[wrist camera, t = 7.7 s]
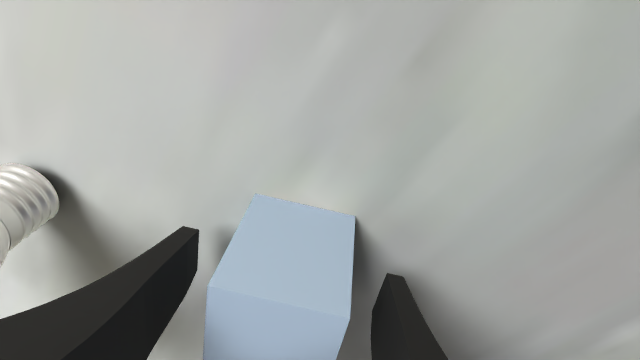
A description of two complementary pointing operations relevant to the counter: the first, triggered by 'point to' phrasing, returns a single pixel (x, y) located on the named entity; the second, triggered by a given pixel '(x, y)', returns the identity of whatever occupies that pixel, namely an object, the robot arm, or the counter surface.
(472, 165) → the counter surface
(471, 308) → the counter surface
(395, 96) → the counter surface
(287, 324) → the bluegrey block
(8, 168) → the lightbulb
